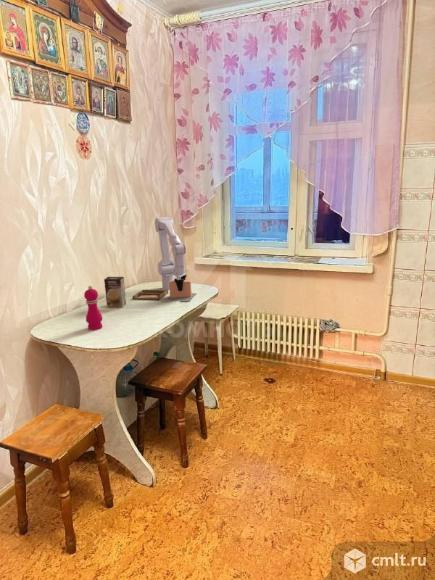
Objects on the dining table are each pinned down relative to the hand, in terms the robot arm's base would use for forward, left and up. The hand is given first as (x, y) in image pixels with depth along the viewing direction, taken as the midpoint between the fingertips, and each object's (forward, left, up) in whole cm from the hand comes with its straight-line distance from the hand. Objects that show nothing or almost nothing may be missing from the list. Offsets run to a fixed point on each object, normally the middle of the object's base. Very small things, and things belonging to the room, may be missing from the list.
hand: (181, 289), depth 226 cm
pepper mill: (+53, -25, -5) cm, 59 cm away
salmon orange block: (0, 0, -4) cm, 4 cm away
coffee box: (+21, -30, -5) cm, 37 cm away
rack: (+2, -18, -5) cm, 19 cm away
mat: (+1, 0, -5) cm, 5 cm away
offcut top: (+5, -18, -4) cm, 19 cm away
